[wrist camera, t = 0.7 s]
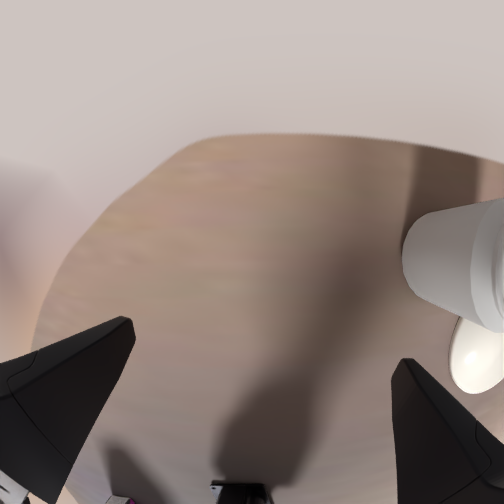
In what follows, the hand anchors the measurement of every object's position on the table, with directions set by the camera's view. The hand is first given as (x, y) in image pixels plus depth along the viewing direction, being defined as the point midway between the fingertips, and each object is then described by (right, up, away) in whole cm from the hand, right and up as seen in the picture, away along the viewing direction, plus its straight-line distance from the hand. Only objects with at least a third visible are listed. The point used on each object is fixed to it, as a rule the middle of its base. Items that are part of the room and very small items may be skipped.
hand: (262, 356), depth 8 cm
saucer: (+24, -6, +11) cm, 27 cm away
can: (+15, +3, +12) cm, 19 cm away
